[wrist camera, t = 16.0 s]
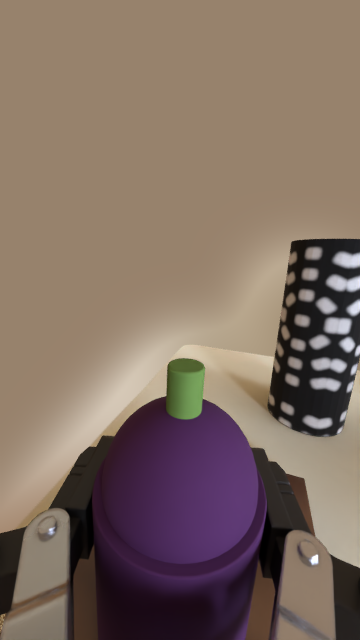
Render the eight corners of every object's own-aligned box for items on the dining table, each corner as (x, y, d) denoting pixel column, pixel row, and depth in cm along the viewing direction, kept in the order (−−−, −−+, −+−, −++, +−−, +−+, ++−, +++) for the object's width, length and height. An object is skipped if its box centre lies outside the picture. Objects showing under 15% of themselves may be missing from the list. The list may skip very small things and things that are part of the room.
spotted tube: (355, 419, 29) (398, 244, 25) (322, 447, 25) (367, 237, 20) (290, 389, 36) (314, 246, 31) (254, 406, 31) (275, 240, 26)
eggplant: (182, 532, 15) (196, 329, 12) (269, 657, 10) (326, 379, 7) (80, 611, 11) (63, 352, 8) (143, 854, 7) (154, 473, 4)
